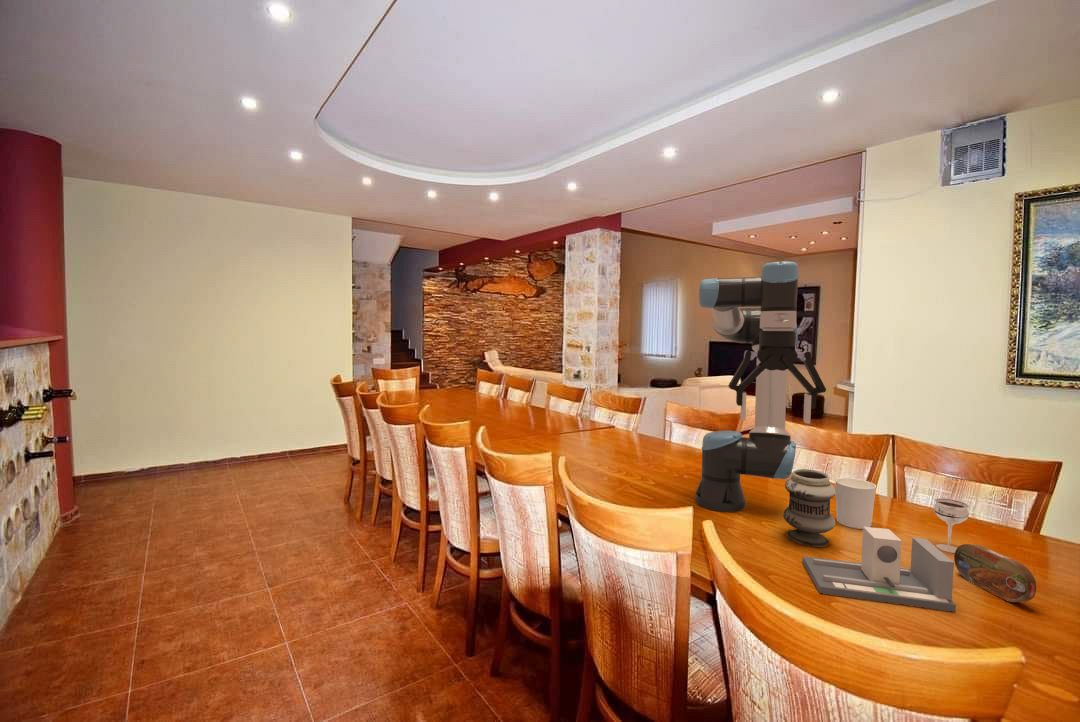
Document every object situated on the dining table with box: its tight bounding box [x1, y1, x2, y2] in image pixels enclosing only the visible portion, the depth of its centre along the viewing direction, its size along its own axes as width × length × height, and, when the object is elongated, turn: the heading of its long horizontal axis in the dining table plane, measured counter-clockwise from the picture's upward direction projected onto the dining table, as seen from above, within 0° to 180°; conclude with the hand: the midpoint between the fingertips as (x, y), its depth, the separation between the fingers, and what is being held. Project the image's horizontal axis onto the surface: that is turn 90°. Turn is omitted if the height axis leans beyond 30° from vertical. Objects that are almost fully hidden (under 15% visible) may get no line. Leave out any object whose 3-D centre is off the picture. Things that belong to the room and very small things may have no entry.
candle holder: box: [835, 477, 877, 530], centre depth 135 cm, size 10×10×12 cm
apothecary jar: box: [782, 468, 836, 548], centre depth 125 cm, size 12×12×18 cm
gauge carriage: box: [860, 526, 903, 587], centre depth 100 cm, size 5×9×10 cm, turn 164°
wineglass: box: [933, 497, 970, 554], centre depth 120 cm, size 7×7×12 cm
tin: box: [953, 543, 1037, 603], centre depth 101 cm, size 15×3×8 cm, turn 5°
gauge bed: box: [801, 537, 957, 613], centre depth 103 cm, size 24×14×10 cm, turn 74°
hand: (774, 421), depth 109 cm, fingers open, 13 cm apart
